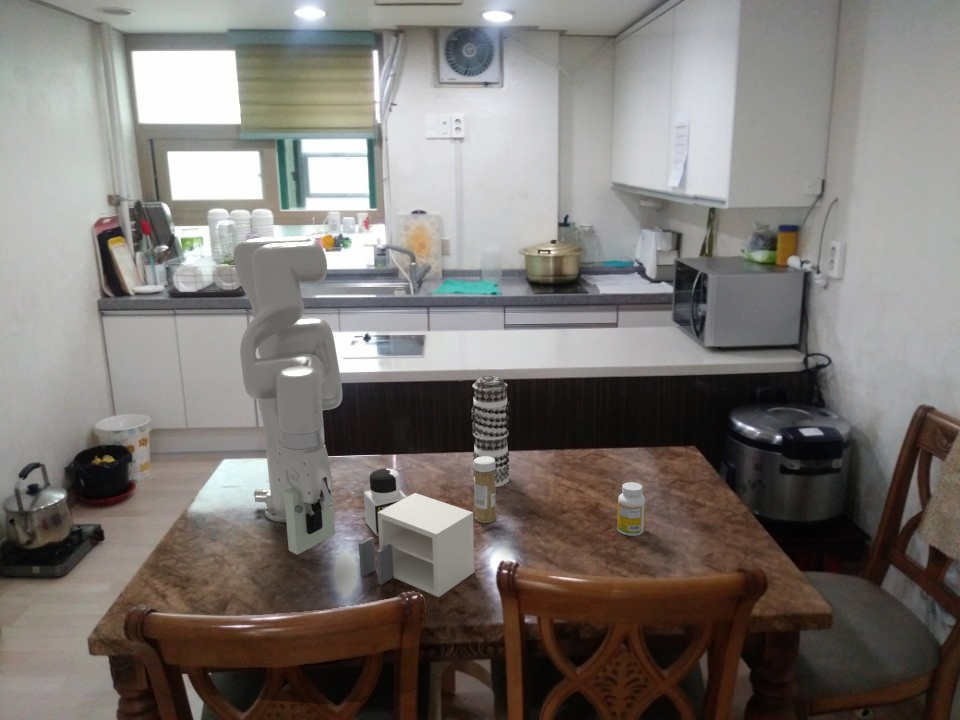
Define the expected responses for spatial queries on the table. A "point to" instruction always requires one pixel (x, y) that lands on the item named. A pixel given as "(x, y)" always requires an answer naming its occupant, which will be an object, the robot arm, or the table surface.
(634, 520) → the supplement bottle
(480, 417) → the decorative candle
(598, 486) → the table surface
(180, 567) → the table surface
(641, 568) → the table surface
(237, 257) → the robot arm
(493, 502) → the spice jar
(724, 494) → the table surface
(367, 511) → the medicine bottle
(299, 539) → the door
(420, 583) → the cabinet
